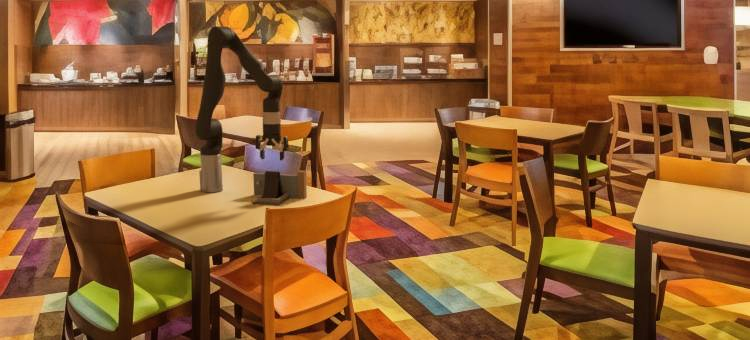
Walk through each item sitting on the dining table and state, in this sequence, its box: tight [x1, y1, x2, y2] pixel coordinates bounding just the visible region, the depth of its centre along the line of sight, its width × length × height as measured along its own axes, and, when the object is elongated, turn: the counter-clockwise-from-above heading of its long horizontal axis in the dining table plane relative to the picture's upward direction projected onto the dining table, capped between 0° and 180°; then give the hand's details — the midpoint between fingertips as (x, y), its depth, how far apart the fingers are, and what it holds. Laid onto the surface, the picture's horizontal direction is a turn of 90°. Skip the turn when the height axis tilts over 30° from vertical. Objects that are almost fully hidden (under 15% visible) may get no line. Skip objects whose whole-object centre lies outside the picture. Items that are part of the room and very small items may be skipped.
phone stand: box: [263, 170, 283, 199], centre depth 270 cm, size 9×6×12 cm, turn 166°
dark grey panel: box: [253, 170, 308, 200], centre depth 276 cm, size 24×4×12 cm, turn 77°
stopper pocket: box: [252, 193, 292, 206], centre depth 269 cm, size 12×14×2 cm
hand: (272, 159), depth 267 cm, fingers open, 8 cm apart
